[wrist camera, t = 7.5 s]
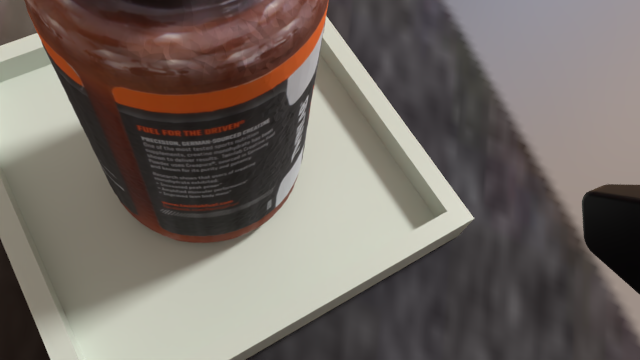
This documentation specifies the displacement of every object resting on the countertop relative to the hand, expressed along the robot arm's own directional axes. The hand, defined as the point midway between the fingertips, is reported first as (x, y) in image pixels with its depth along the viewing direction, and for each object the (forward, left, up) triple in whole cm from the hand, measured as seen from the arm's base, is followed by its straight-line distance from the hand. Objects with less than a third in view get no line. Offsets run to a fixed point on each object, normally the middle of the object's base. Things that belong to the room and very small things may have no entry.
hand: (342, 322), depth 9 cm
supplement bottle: (+7, -1, -9) cm, 12 cm away
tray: (+8, -1, -9) cm, 12 cm away
